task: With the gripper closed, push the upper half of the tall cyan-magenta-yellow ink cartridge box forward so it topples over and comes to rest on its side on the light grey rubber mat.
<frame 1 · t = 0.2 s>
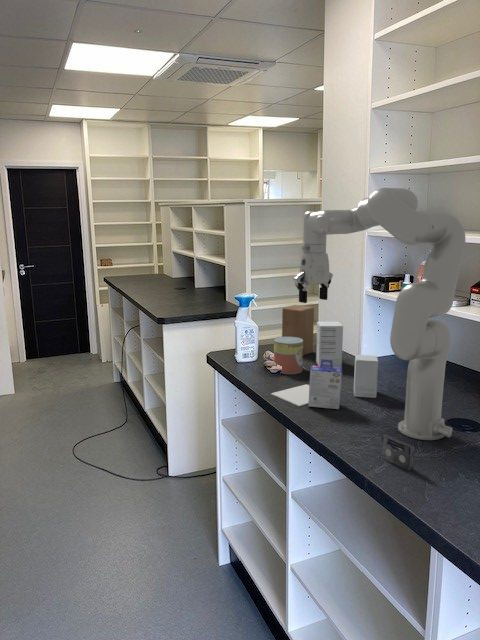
hand: (313, 300, 173), 31 cm above the counter, fingers open, 9 cm apart
supplement box: (364, 394, 174), on the counter
canned food: (288, 370, 201), on the counter
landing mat: (302, 395, 172), on the counter
mini dv tape: (396, 464, 125), on the counter
wooden block: (297, 353, 226), on the counter
supplement box 2: (328, 364, 208), on the counter
ink cartridge box: (324, 405, 163), on the counter, touching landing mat
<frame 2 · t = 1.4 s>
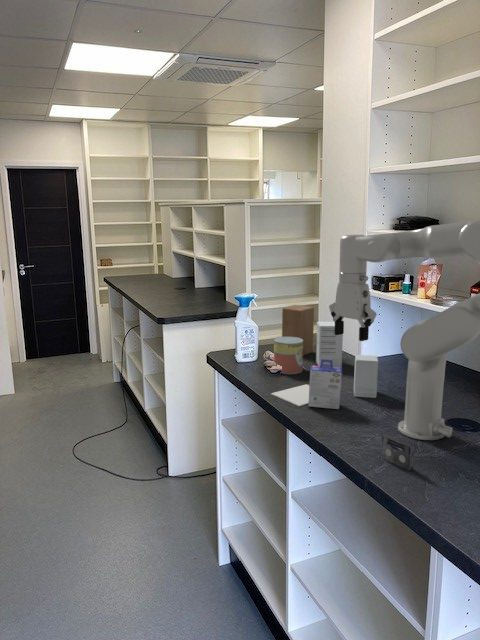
hand: (351, 337, 151), 24 cm above the counter, fingers open, 9 cm apart
nothing on the counter moved.
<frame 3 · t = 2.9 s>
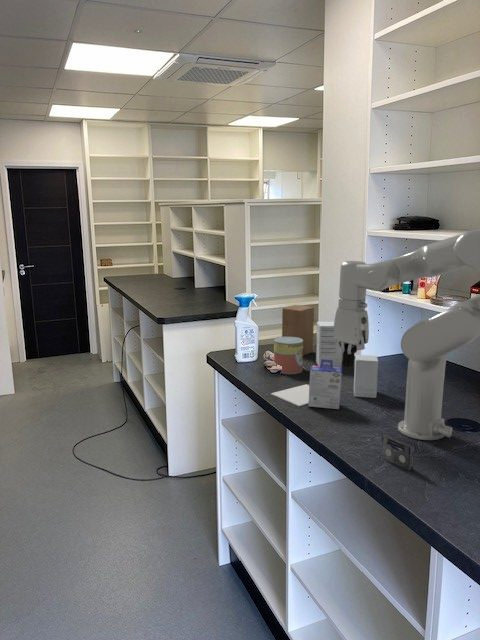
hand: (348, 365, 152), 16 cm above the counter, fingers closed
nothing on the counter moved.
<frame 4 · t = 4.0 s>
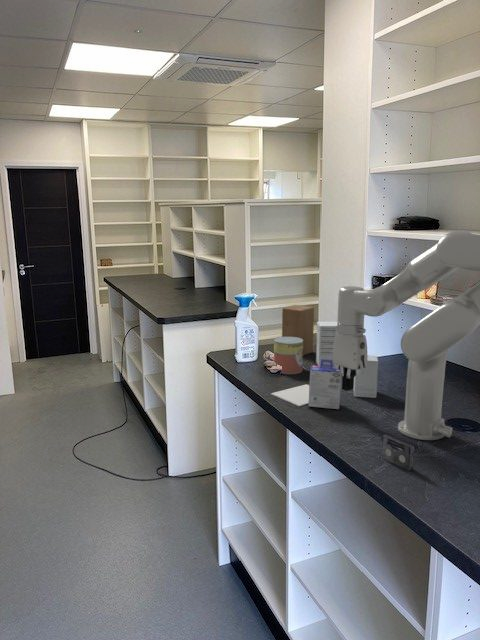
hand: (347, 389, 154), 8 cm above the counter, fingers closed
nothing on the counter moved.
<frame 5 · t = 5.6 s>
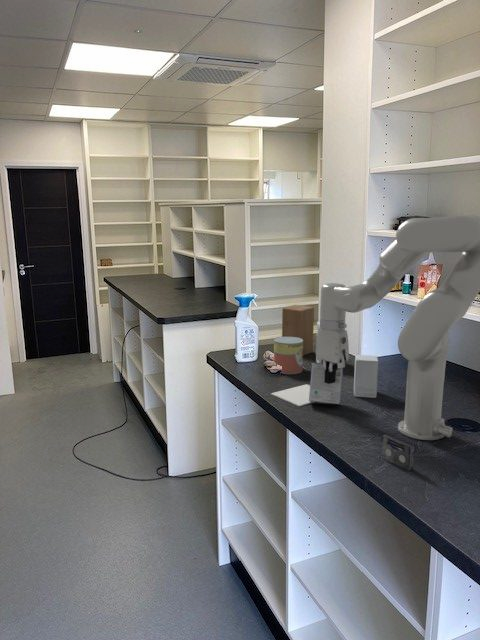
hand: (329, 382, 160), 8 cm above the counter, fingers closed
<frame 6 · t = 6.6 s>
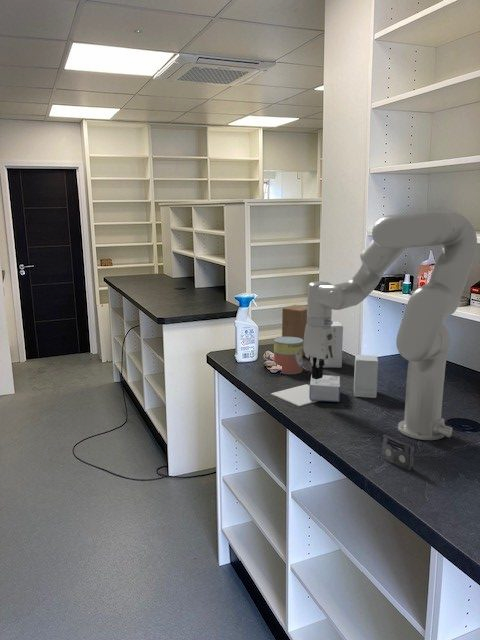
hand: (317, 377, 164), 8 cm above the counter, fingers closed
ink cartridge box: (324, 394, 165), point 3 cm above the counter, touching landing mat
everything else where it was.
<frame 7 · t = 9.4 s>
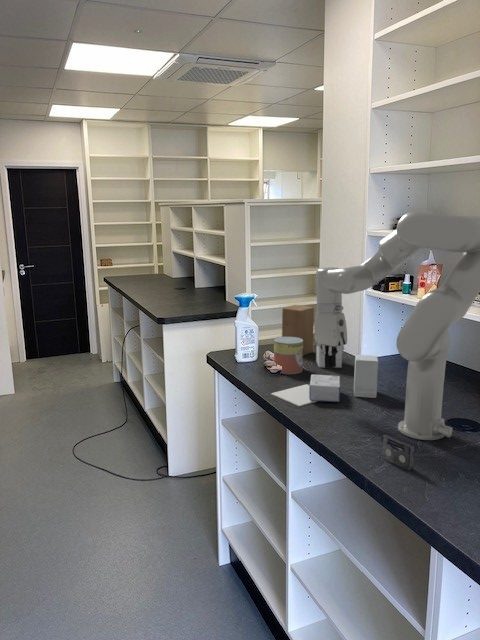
hand: (330, 366, 160), 13 cm above the counter, fingers closed
nothing on the counter moved.
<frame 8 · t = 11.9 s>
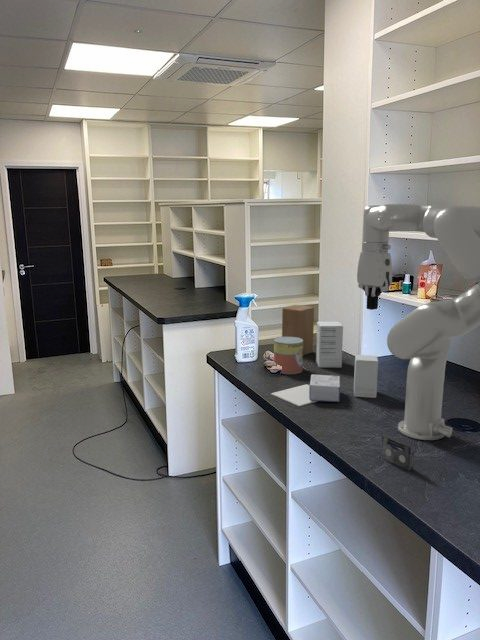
hand: (372, 308, 157), 31 cm above the counter, fingers closed
nothing on the counter moved.
at the end: ink cartridge box tilted 89°; ink cartridge box inside the target area on the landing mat (8.2 cm from its centre), point 3.0 cm above the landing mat's base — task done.
